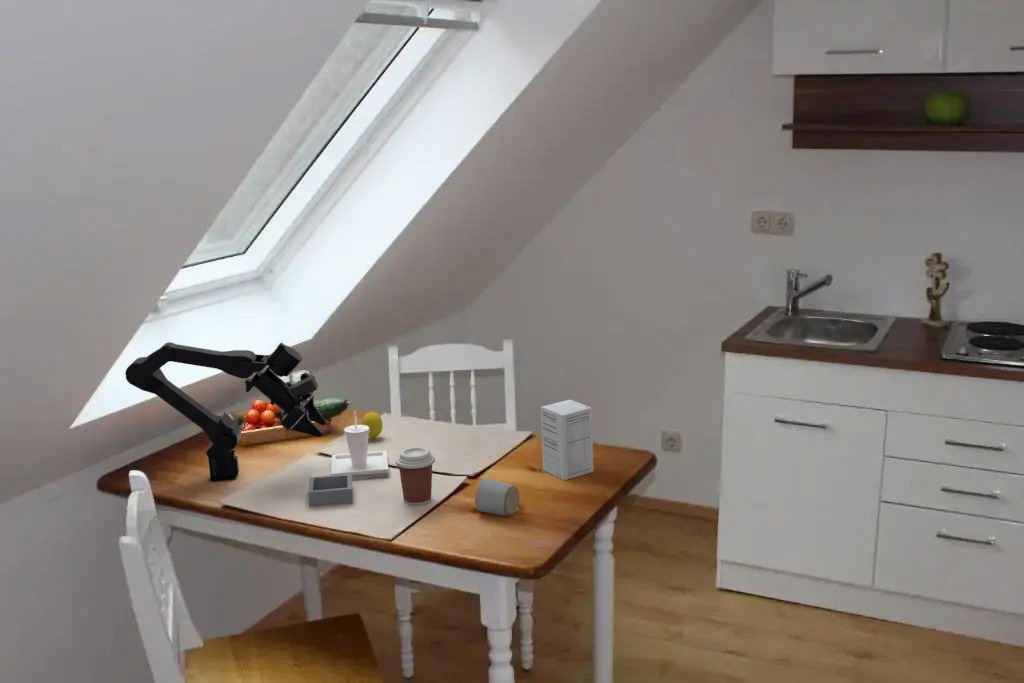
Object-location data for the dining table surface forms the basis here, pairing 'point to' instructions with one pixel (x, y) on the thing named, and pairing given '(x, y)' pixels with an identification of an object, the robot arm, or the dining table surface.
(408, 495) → the coffee cup
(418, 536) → the dining table surface
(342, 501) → the holder
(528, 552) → the dining table surface
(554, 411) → the supplement box
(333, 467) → the tray
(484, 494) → the grey cylinder
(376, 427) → the lemon
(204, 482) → the dining table surface
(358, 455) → the smoothie
